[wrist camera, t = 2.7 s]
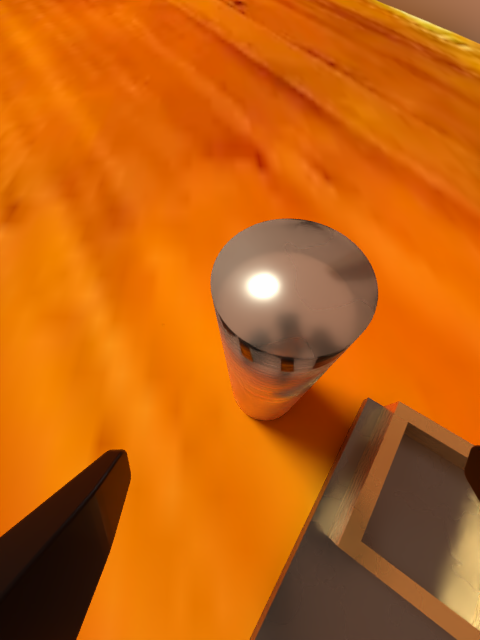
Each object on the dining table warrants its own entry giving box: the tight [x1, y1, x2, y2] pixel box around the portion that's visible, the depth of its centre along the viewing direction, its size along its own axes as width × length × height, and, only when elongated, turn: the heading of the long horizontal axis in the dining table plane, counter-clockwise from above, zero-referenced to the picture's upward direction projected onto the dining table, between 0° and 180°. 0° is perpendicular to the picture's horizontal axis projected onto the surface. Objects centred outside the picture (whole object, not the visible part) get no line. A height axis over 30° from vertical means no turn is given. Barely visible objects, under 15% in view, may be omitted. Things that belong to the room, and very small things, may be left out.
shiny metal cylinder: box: [211, 219, 378, 420], centre depth 13 cm, size 4×4×13 cm
